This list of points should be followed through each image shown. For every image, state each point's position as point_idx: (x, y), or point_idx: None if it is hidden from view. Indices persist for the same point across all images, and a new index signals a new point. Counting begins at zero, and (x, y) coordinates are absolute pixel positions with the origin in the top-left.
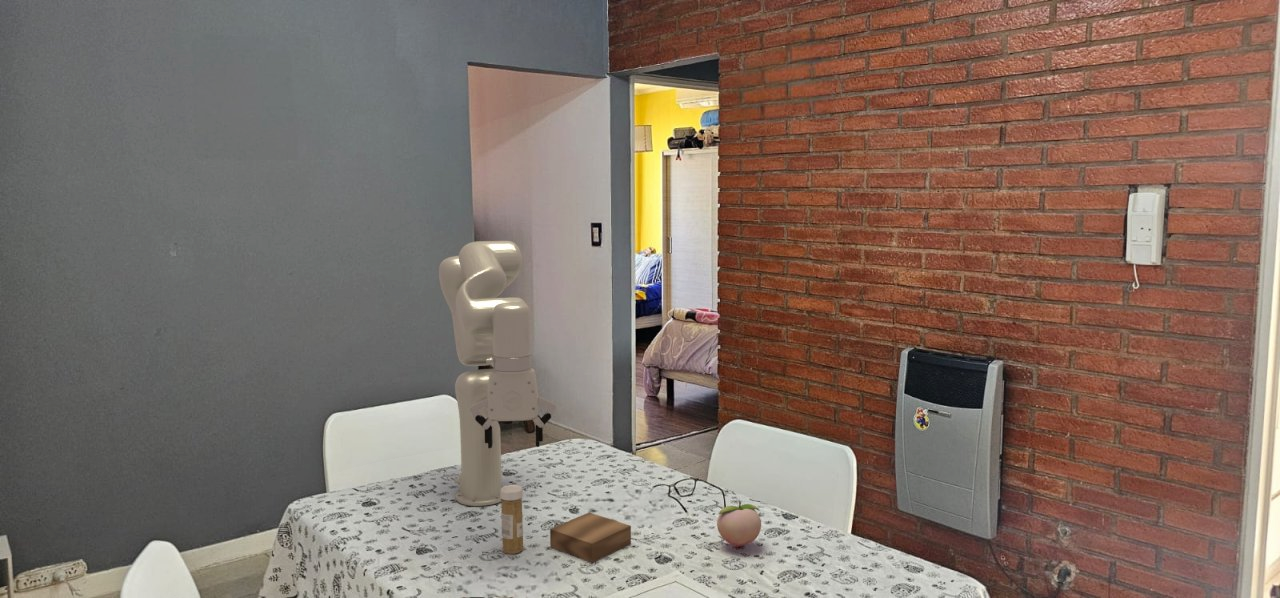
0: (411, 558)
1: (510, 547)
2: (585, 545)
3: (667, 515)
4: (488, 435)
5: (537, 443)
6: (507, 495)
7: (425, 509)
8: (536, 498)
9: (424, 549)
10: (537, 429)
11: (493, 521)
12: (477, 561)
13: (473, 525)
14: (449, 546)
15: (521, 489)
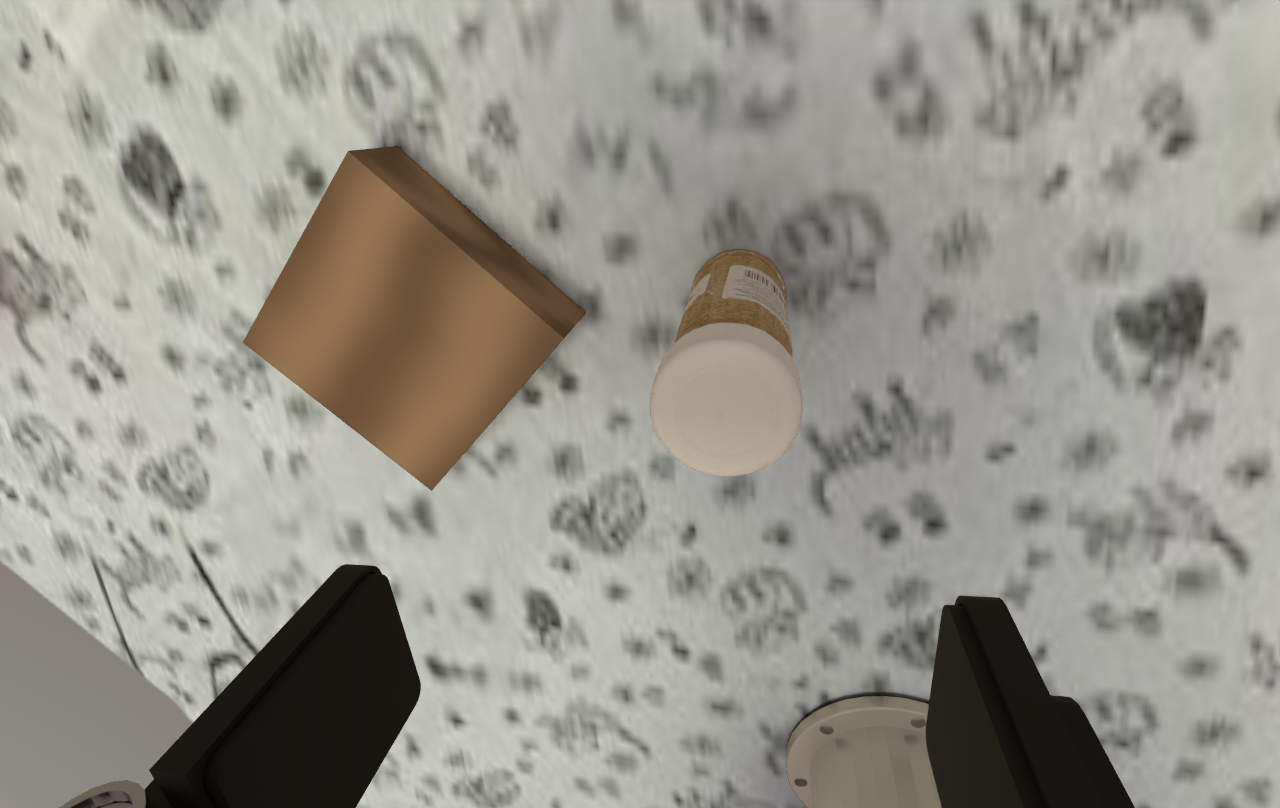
0: (1240, 235)
1: (744, 258)
2: (392, 178)
3: (238, 532)
4: (1072, 767)
5: (341, 587)
6: (747, 335)
7: (1119, 708)
8: (683, 720)
9: (1158, 333)
10: (188, 750)
11: (833, 569)
12: (896, 184)
13: (916, 545)
14: (1030, 356)
15: (652, 392)
